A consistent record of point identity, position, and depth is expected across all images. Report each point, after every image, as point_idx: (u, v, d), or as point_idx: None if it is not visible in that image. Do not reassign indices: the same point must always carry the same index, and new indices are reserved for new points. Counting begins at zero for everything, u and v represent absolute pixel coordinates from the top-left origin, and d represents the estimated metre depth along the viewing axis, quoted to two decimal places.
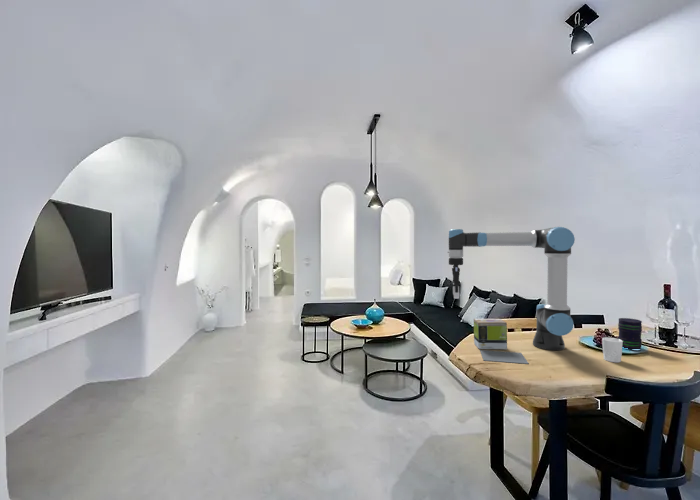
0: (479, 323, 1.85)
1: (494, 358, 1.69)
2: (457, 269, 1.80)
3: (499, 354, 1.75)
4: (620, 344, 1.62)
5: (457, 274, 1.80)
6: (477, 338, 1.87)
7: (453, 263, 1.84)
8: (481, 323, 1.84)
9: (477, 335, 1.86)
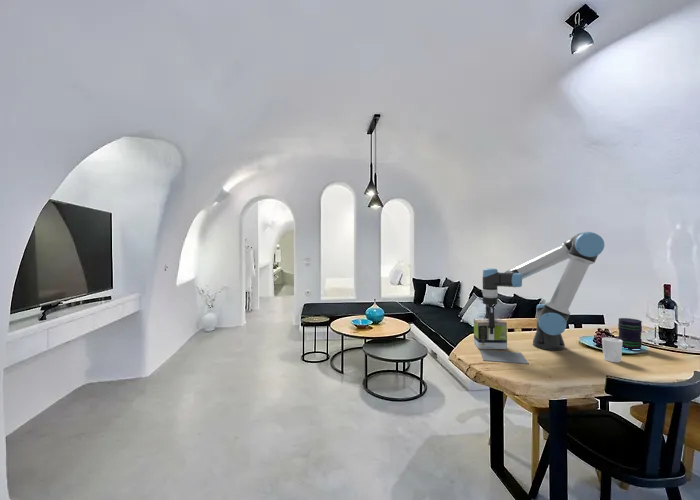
0: (479, 323, 1.85)
1: (494, 358, 1.69)
2: (492, 311, 1.82)
3: (499, 354, 1.75)
4: (620, 344, 1.62)
5: (492, 316, 1.81)
6: (477, 338, 1.87)
7: (488, 303, 1.85)
8: (481, 323, 1.85)
9: (477, 335, 1.87)
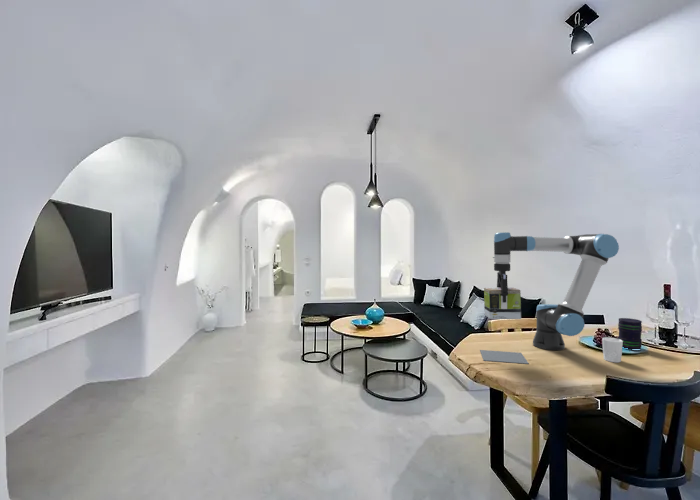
0: (490, 291, 1.70)
1: (494, 358, 1.69)
2: (505, 277, 1.67)
3: (499, 354, 1.75)
4: (620, 344, 1.62)
5: (505, 282, 1.67)
6: (488, 308, 1.72)
7: (500, 269, 1.71)
8: (492, 291, 1.70)
9: (488, 304, 1.72)
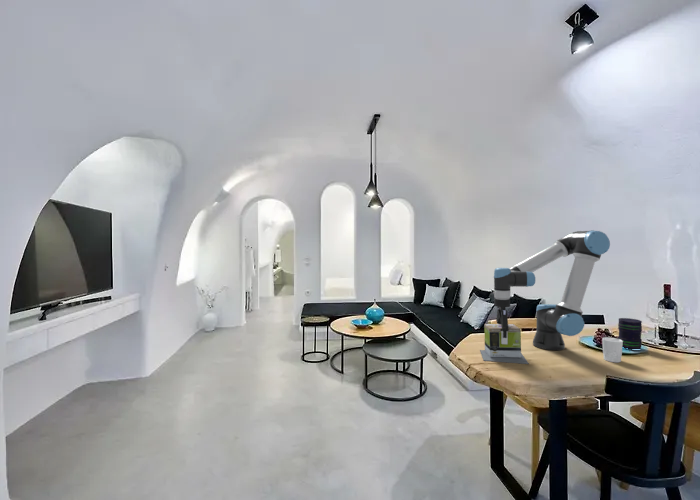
0: (490, 329, 1.71)
1: (494, 358, 1.69)
2: (505, 312, 1.67)
3: None
4: (620, 344, 1.62)
5: (505, 318, 1.67)
6: (488, 345, 1.73)
7: (500, 305, 1.71)
8: (492, 329, 1.71)
9: (488, 342, 1.73)
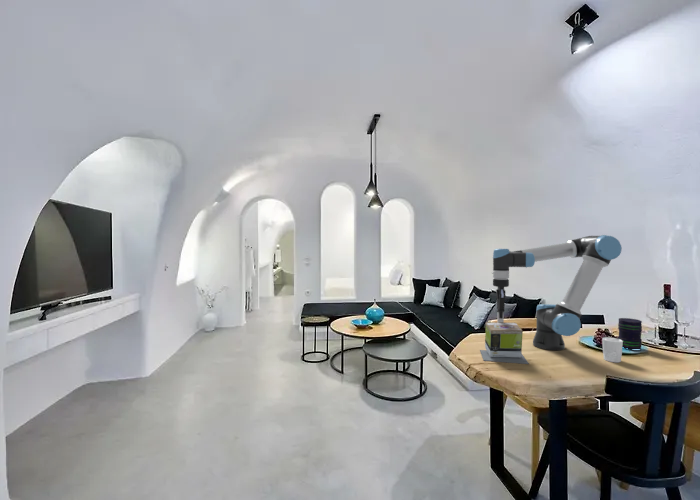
0: (492, 331, 1.68)
1: (494, 358, 1.69)
2: (503, 296, 1.71)
3: None
4: (620, 344, 1.62)
5: (502, 301, 1.72)
6: (488, 345, 1.72)
7: (498, 285, 1.74)
8: (494, 331, 1.68)
9: (489, 342, 1.71)
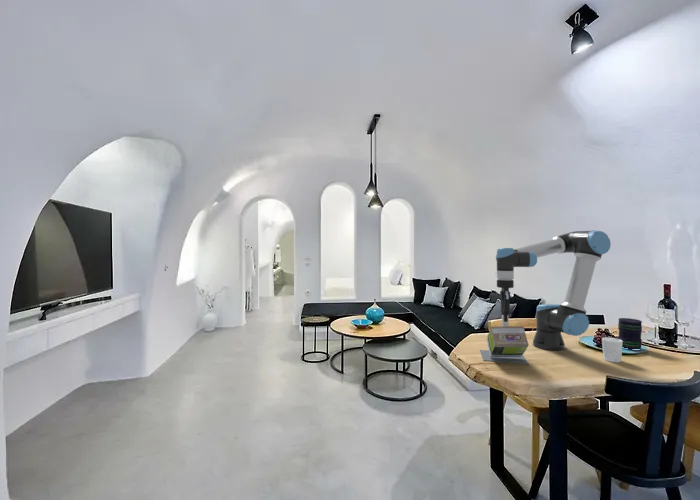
0: (496, 345, 1.60)
1: (494, 358, 1.69)
2: (508, 298, 1.62)
3: None
4: (620, 344, 1.62)
5: (507, 303, 1.63)
6: (490, 349, 1.68)
7: (503, 286, 1.65)
8: (498, 345, 1.60)
9: (491, 348, 1.67)
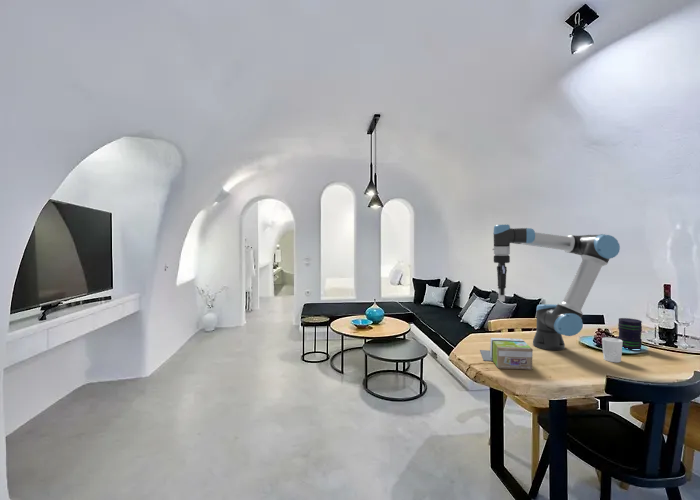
0: (499, 367, 1.57)
1: None
2: (504, 272, 1.69)
3: None
4: (620, 344, 1.62)
5: (504, 277, 1.70)
6: (492, 356, 1.66)
7: (499, 261, 1.72)
8: None
9: (493, 358, 1.64)
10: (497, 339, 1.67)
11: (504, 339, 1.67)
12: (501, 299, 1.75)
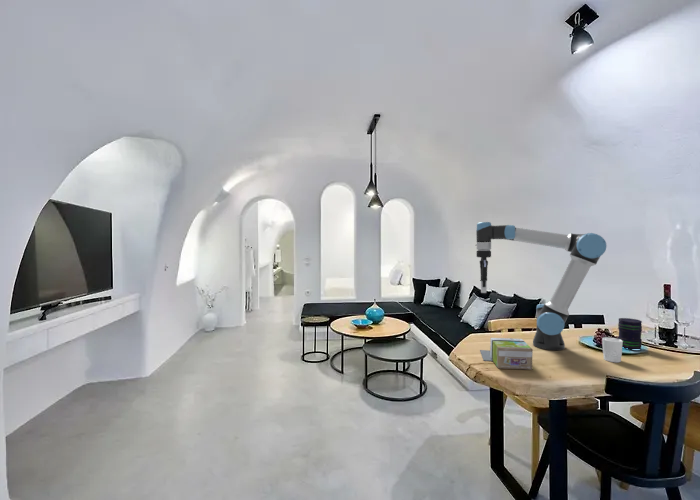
0: (499, 367, 1.57)
1: None
2: (486, 266, 1.85)
3: None
4: (620, 344, 1.62)
5: (485, 270, 1.86)
6: (492, 356, 1.66)
7: (481, 255, 1.87)
8: None
9: (493, 358, 1.64)
10: (497, 339, 1.67)
11: (504, 339, 1.67)
12: (483, 291, 1.90)
